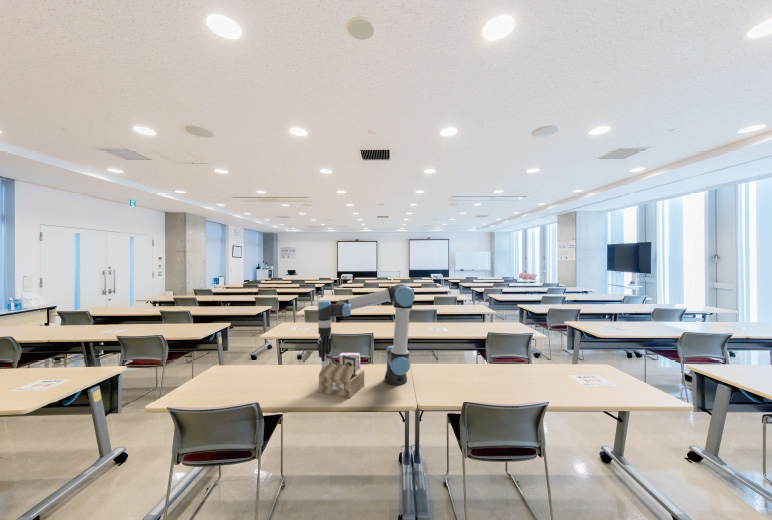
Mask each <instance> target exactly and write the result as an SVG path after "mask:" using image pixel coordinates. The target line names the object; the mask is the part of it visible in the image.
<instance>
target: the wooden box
mask: <svg viewBox="0 0 772 520" xmlns="http://www.w3.org/2000/svg"><path fill="white" fill-rule="evenodd" d="M364 387H365V370H364V371H363V372H362V373H360V374H359V375H357V376H356V375H352V376H351V378H350V381H346V380H341V379H335V378H330V377H324V376H319V375H318V392H319V393H322V394H323V393H324V394H327V395H332V396H338V397H342V398H348V399H351V398H352V397H353V396H355V395H356V394H357V393H358V392H359V391H361V390H362V389H364Z"/></svg>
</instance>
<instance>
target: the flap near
mask: <svg viewBox="0 0 772 520" xmlns="http://www.w3.org/2000/svg"><path fill="white" fill-rule="evenodd" d="M318 358H321V356H320V355H319V354H318ZM326 358H328V359H329V360H331V361H332V363H331V362H329V365H326V367H324V366H322V365H321V369H320V371H319V373H318V377H319V376H324V377H330V378H335V379H341V380H346V381H350V378H351V376H352V373H353V370H354V367H353V366H346V365H340V364H339V363H338V362H337V361H336V360H335V359H334V358H333V356H332V355H330V354H329V355H326Z"/></svg>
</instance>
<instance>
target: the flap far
mask: <svg viewBox="0 0 772 520" xmlns="http://www.w3.org/2000/svg"><path fill="white" fill-rule="evenodd" d="M342 359H343V365H345V359H347V360H353V365H354V370H353V373H352V375H356V376H357V375H359V374H360V373H362V372H363V371H364V372H365V369H362V368H360V369H356V368H355V360H356V358H355V357H348V356H343V357H342Z"/></svg>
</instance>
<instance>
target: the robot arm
mask: <svg viewBox="0 0 772 520" xmlns="http://www.w3.org/2000/svg"><path fill="white" fill-rule="evenodd" d="M415 298H416V297H415V293H414V291H413V289H412V288H411V287H410V286H407V285H406V284H401V283H399V284H396V285H393V286H390V287H386V288H385V289H384V290H379V291H376V292H372V293H368V294H363V295H359V296H354V297H351V298H346V299H339V300H337V301H336V303H331V302H332V301H330V300H320V301H318V304H317V320H318V323H317V324H318V328H317V329H318V330H317V331H318V334H319V339H316V343H317V351H318V356H319V355H320V356H321V357H320V359H321V361H320V362H321V367H322V366H324V367H326V365H329V363H330V361H329V360H330V359H328V358H326V355H329V356H330V354H331V352H332V341H333V337H334V336H333V335H331V334H332V317H334V318H335V317H350V316H351V311H353V310H356V309H357V310H358V309H361V308H365V307H370V306H374V305H377V304H382V303H386V302H388V303H393V308H394V309H395V316H394V317H395V318H394V330H393V332H394V333H393V345H389V346H387V347H386V371H385V373H384V376H383V377H384V378H383V380H384V383H386V384H388V385H391V386H400V385H404V384H406V383H407V382H408V376H407V373H408V372H409V371H410V368H411V364H410V363H411V362H410V360H409V359H410V351H409V350H408V337H409V327H410V326H409V323H410V311H411V310H412V309H413V302H414V301H415Z"/></svg>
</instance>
